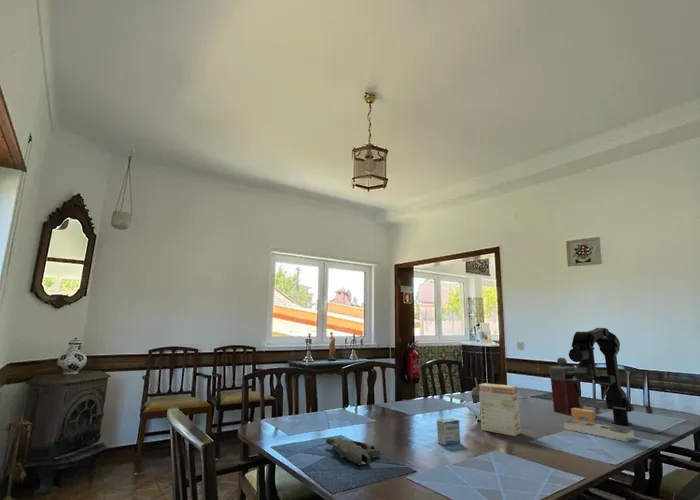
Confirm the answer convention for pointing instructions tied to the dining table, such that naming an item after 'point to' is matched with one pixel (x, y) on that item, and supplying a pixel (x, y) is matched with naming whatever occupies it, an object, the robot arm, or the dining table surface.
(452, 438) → the medicine box
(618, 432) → the rail
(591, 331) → the robot arm
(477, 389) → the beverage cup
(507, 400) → the coffeecake box
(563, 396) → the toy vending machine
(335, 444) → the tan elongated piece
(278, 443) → the dining table surface
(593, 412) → the tan stepped block
